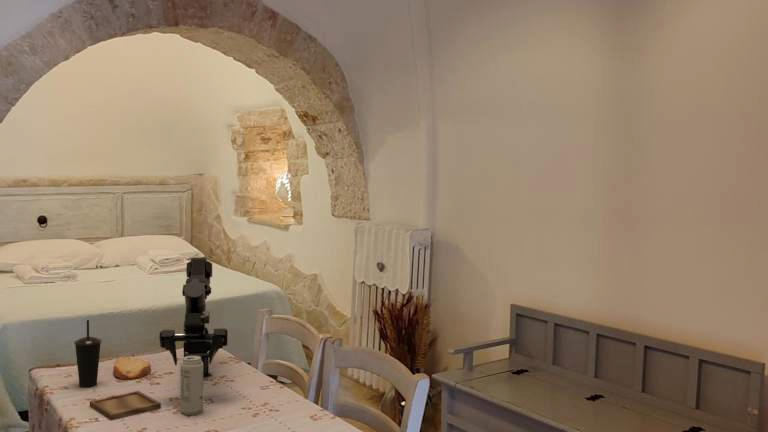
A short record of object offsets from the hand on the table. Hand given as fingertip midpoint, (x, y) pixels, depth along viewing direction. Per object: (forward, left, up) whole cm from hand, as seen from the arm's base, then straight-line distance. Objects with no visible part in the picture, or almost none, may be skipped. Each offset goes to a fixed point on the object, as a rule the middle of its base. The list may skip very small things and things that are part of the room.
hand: (192, 364), depth 195 cm
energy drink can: (+3, +4, -12) cm, 13 cm away
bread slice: (-1, -44, -12) cm, 45 cm away
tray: (+15, -11, -12) cm, 22 cm away
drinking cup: (+15, -37, -12) cm, 41 cm away
